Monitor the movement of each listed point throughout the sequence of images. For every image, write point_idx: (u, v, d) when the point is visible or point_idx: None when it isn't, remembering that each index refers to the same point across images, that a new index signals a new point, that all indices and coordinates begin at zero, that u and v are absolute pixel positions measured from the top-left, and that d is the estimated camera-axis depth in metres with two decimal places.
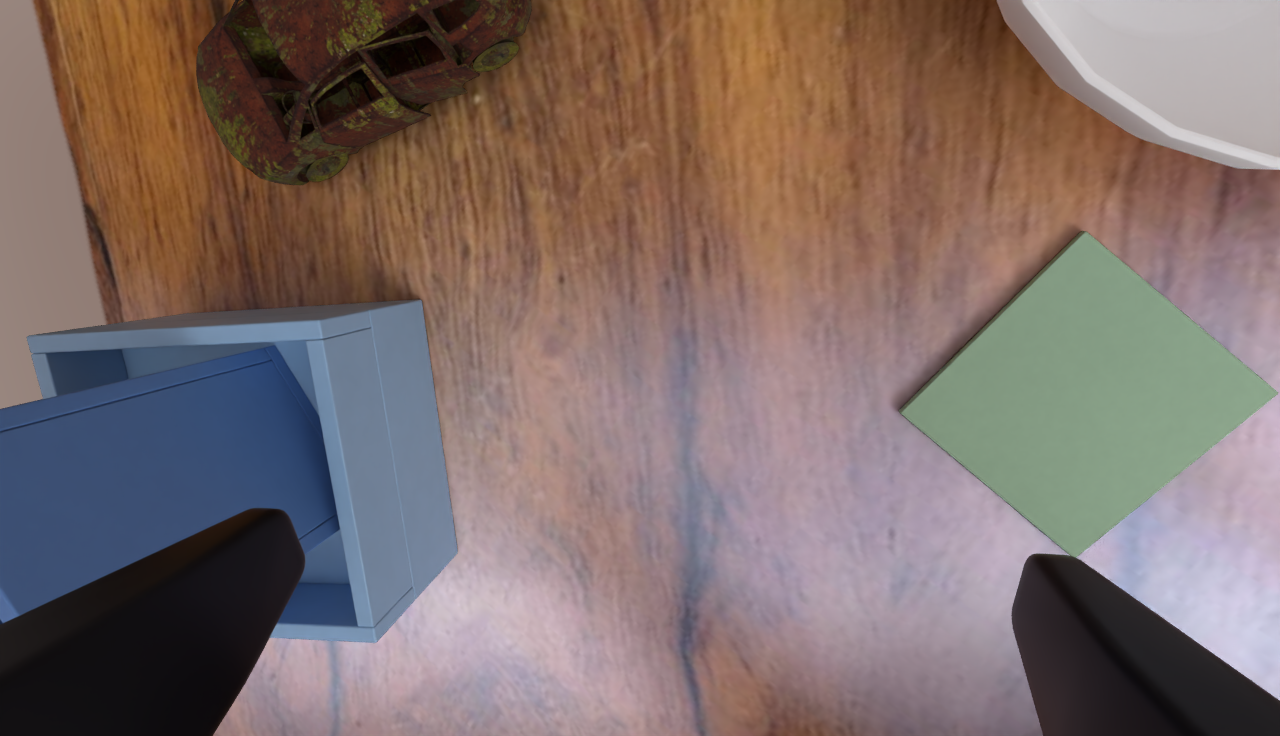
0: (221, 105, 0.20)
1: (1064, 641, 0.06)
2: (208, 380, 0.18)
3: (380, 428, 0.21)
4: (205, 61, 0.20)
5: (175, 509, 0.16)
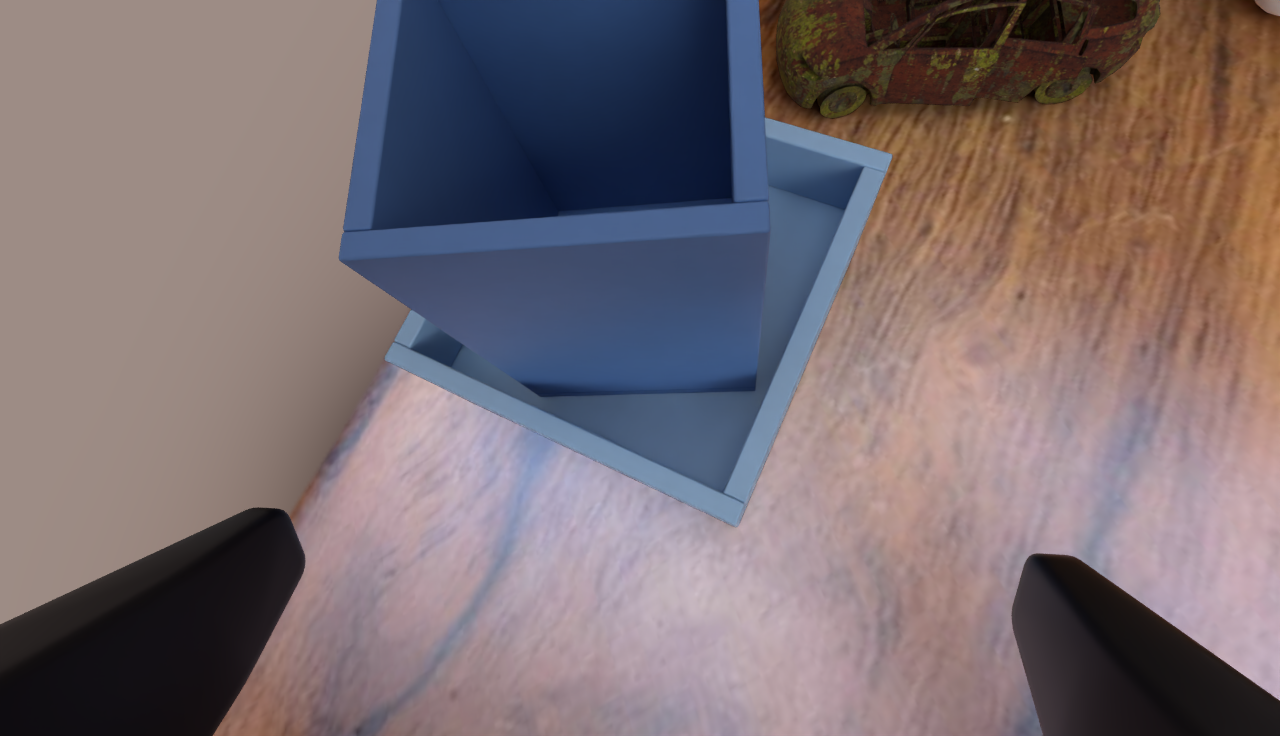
0: (816, 3, 0.22)
1: (1064, 641, 0.06)
2: None
3: None
4: None
5: None
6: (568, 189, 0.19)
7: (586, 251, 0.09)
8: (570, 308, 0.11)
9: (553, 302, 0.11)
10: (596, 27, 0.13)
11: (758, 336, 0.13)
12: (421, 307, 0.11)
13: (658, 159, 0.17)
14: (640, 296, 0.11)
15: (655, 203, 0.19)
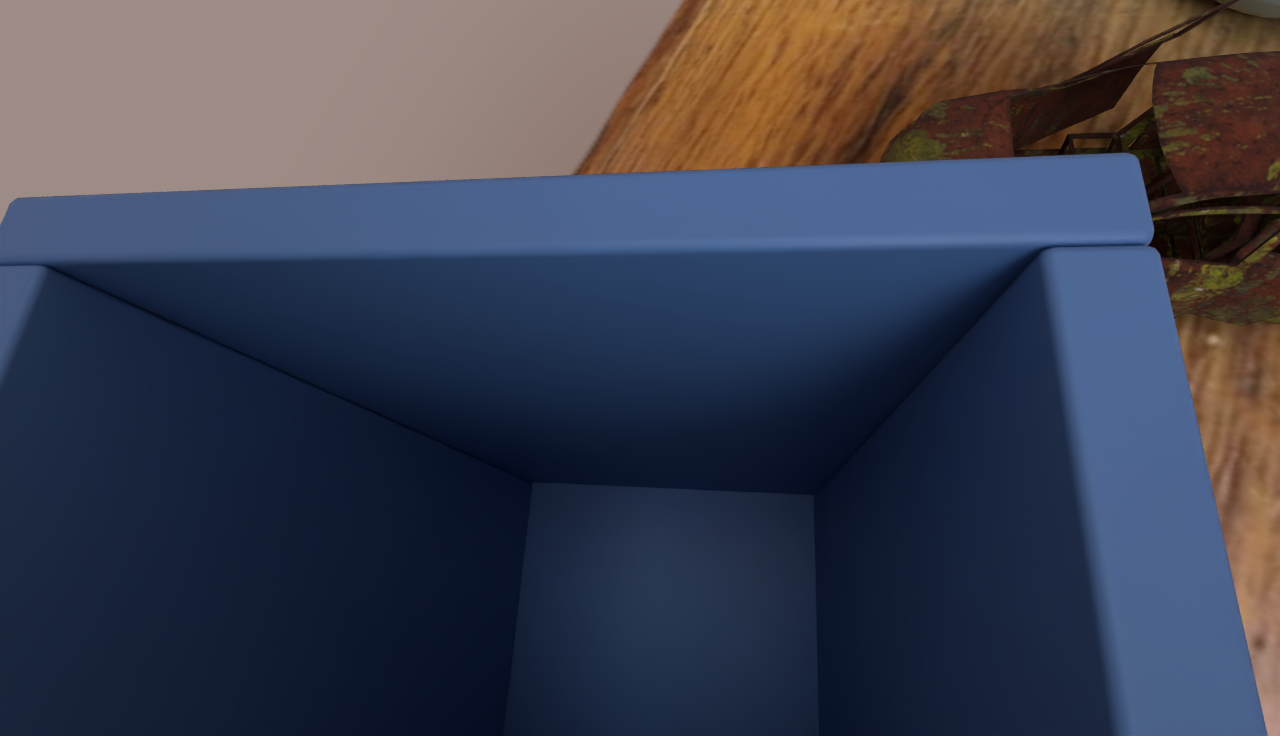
0: None
1: None
2: None
3: None
4: (949, 116, 0.15)
5: None
6: (546, 474, 0.11)
7: None
8: None
9: None
10: (591, 382, 0.05)
11: None
12: None
13: (701, 470, 0.10)
14: None
15: (687, 489, 0.12)
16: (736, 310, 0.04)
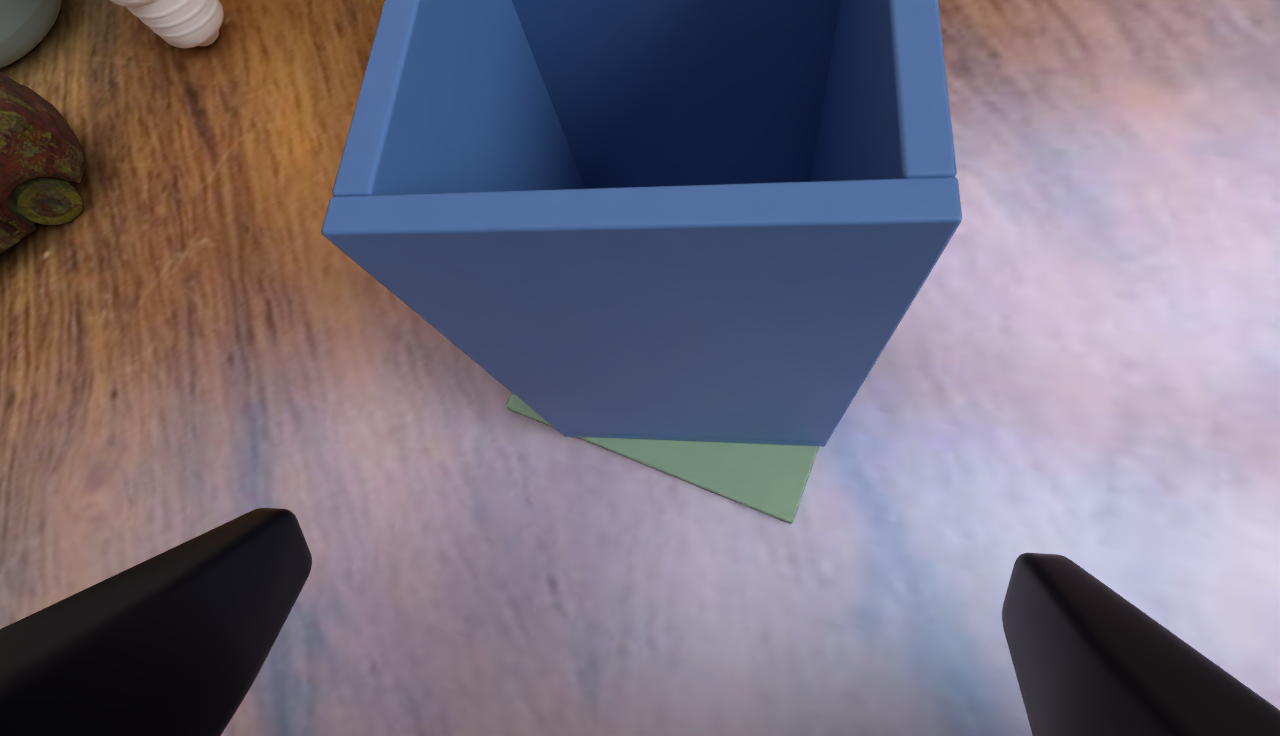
0: None
1: (1052, 640, 0.06)
2: None
3: None
4: None
5: None
6: None
7: (675, 239, 0.06)
8: (629, 326, 0.09)
9: (609, 316, 0.08)
10: None
11: (863, 380, 0.10)
12: (432, 313, 0.09)
13: (725, 165, 0.15)
14: (728, 314, 0.08)
15: None
16: None
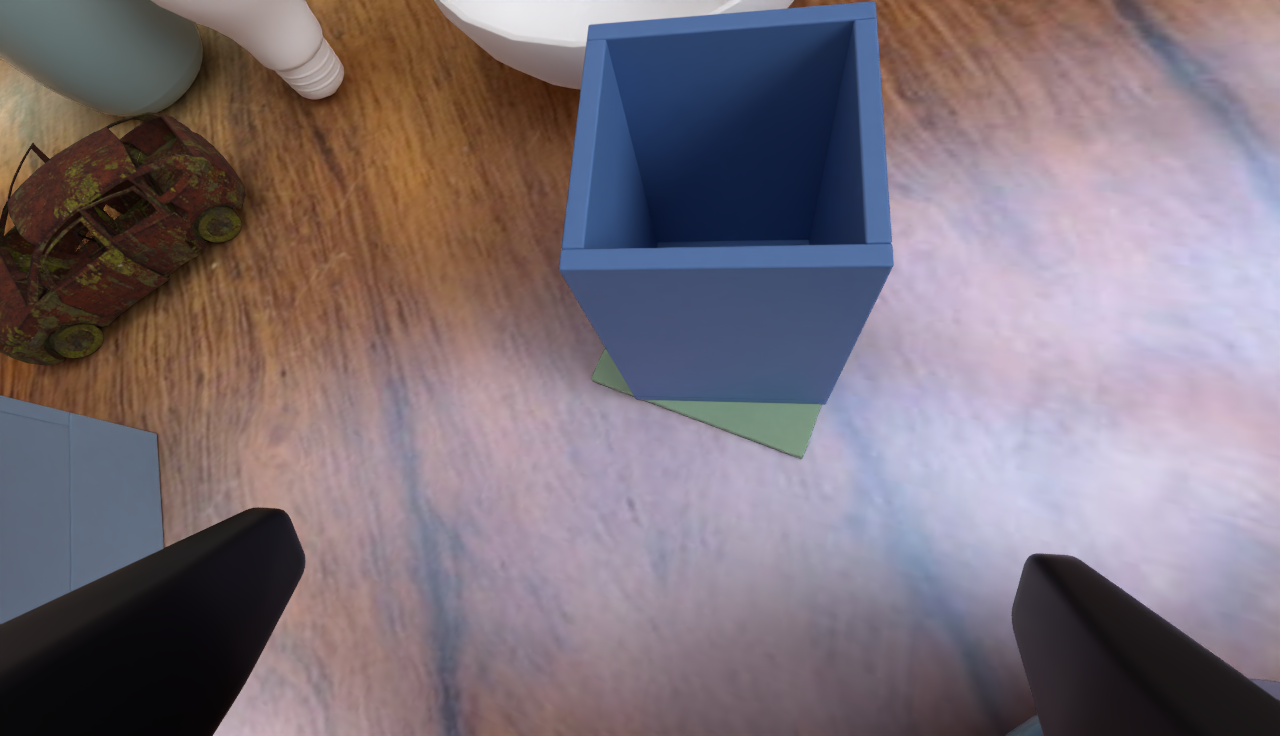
0: None
1: (1063, 641, 0.06)
2: None
3: (57, 518, 0.20)
4: None
5: None
6: (671, 224, 0.22)
7: (749, 273, 0.12)
8: (711, 318, 0.15)
9: (700, 312, 0.14)
10: (733, 101, 0.16)
11: (850, 351, 0.16)
12: (594, 311, 0.15)
13: (754, 204, 0.21)
14: (771, 311, 0.14)
15: (742, 239, 0.23)
16: (786, 51, 0.14)
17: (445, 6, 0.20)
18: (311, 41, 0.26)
